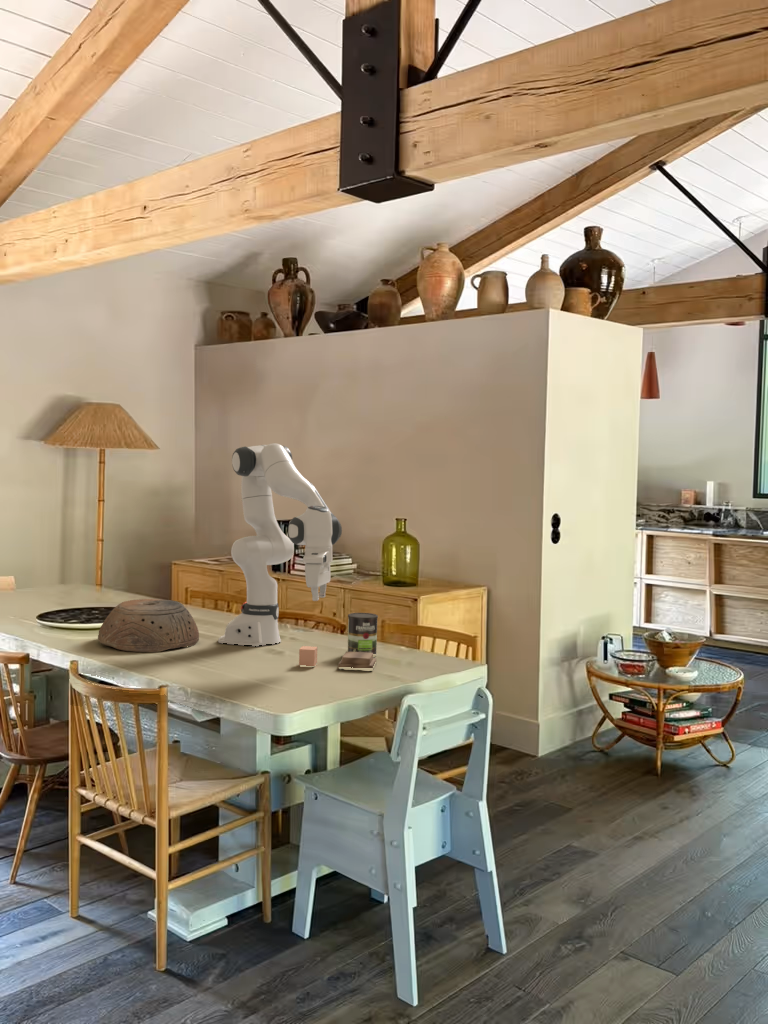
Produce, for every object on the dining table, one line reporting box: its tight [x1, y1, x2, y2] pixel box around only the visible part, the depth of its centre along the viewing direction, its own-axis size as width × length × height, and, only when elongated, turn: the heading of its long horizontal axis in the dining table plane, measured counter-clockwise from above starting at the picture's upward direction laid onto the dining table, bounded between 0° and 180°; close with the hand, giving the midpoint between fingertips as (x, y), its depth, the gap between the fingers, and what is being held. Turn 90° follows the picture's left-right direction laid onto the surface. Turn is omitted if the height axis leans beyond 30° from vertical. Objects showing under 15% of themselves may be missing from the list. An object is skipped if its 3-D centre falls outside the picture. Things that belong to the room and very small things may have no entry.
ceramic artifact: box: [97, 598, 200, 653], centre depth 331 cm, size 35×36×15 cm
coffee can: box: [347, 612, 379, 655], centre depth 319 cm, size 10×10×14 cm
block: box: [298, 645, 318, 666], centre depth 301 cm, size 5×5×6 cm
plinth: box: [337, 651, 377, 668], centre depth 301 cm, size 11×11×4 cm
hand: (319, 599), depth 298 cm, fingers open, 8 cm apart
